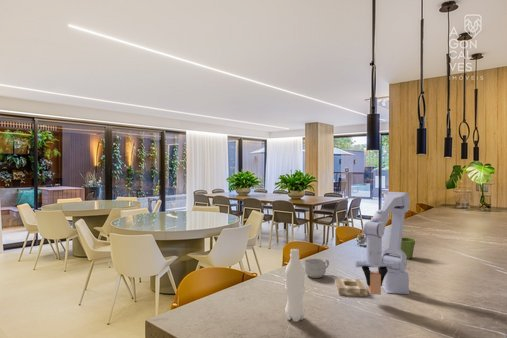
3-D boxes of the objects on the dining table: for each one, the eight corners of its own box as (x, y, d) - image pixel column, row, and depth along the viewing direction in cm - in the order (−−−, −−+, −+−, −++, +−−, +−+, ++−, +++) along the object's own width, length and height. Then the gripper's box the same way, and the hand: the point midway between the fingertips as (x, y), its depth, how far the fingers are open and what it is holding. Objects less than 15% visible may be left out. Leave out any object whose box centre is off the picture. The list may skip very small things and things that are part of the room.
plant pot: (411, 255, 200) (411, 237, 200) (419, 260, 188) (419, 241, 188) (392, 254, 201) (392, 237, 201) (398, 260, 190) (398, 241, 190)
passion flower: (360, 253, 224) (350, 238, 229) (369, 248, 231) (359, 234, 235) (370, 247, 216) (360, 232, 221) (379, 242, 223) (369, 227, 227)
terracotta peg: (378, 290, 130) (378, 271, 130) (380, 294, 127) (380, 274, 126) (368, 290, 131) (368, 270, 131) (370, 294, 127) (370, 274, 127)
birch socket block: (361, 285, 148) (361, 279, 148) (367, 296, 136) (367, 289, 136) (335, 284, 149) (335, 278, 149) (338, 294, 137) (338, 287, 137)
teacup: (309, 280, 155) (309, 264, 155) (300, 273, 165) (300, 258, 165) (335, 278, 159) (335, 262, 159) (325, 271, 169) (325, 256, 169)
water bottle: (302, 313, 119) (302, 247, 119) (306, 323, 112) (306, 252, 112) (283, 314, 119) (283, 247, 119) (286, 323, 112) (286, 252, 112)
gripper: (357, 253, 126) (357, 288, 126) (396, 254, 124) (396, 289, 124) (354, 249, 133) (354, 281, 133) (390, 250, 131) (390, 283, 131)
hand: (374, 285), depth 129 cm, fingers closed on terracotta peg, 4 cm apart
